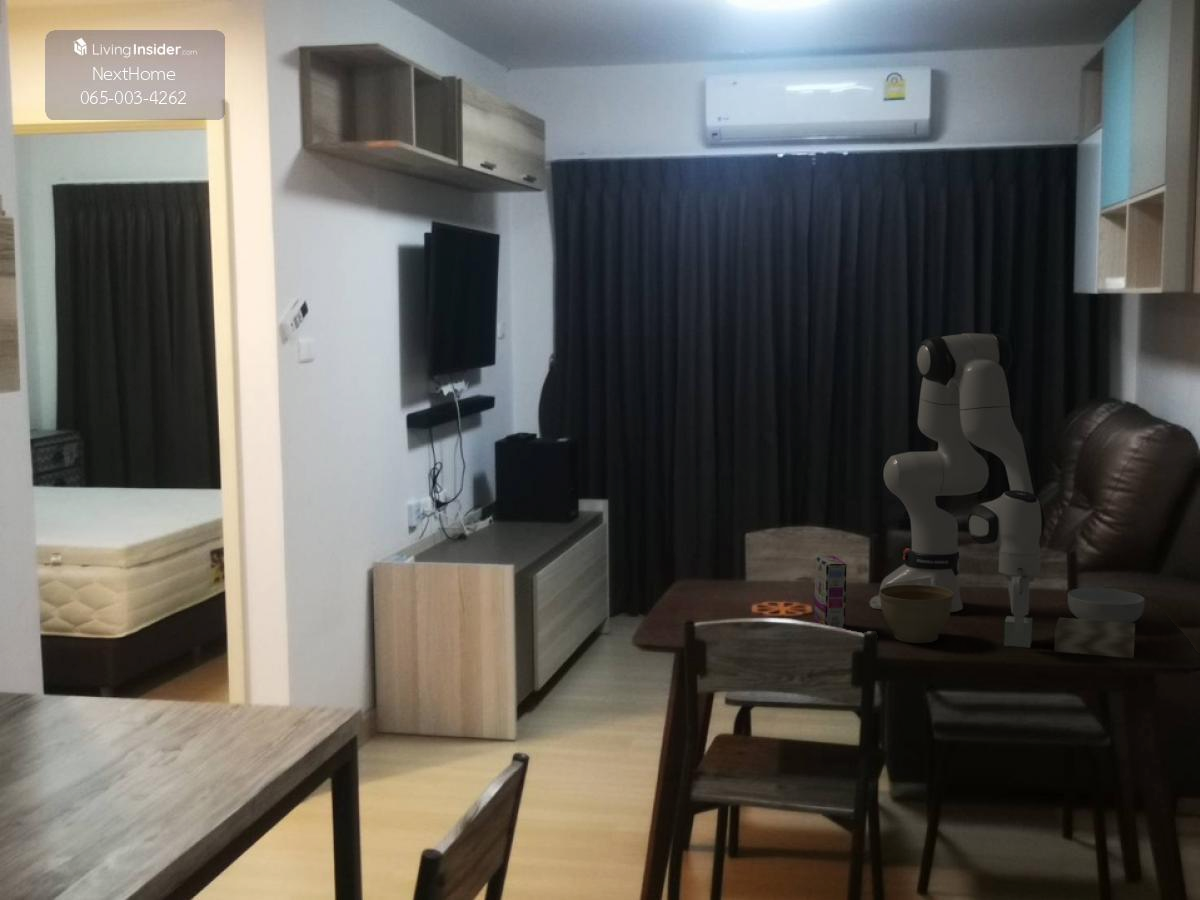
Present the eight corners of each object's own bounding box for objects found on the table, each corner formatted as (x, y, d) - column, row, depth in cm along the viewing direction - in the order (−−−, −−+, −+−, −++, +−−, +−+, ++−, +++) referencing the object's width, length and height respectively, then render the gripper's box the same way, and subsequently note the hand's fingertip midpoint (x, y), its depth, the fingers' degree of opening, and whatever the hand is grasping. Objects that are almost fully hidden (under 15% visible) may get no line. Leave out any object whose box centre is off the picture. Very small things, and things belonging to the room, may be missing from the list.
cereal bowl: (1079, 633, 307) (1079, 602, 306) (1057, 616, 323) (1058, 587, 322) (1154, 633, 306) (1155, 603, 305) (1129, 616, 322) (1130, 587, 322)
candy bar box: (846, 634, 307) (847, 563, 305) (825, 635, 307) (825, 564, 305) (834, 622, 318) (834, 554, 316) (813, 623, 318) (814, 555, 316)
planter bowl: (885, 627, 313) (885, 582, 312) (956, 633, 307) (957, 586, 306) (873, 644, 298) (873, 596, 297) (947, 650, 292) (948, 601, 291)
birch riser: (1054, 653, 291) (1054, 630, 290) (1058, 639, 303) (1058, 617, 302) (1133, 660, 285) (1134, 637, 284) (1134, 645, 297) (1135, 623, 296)
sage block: (1004, 645, 296) (1004, 621, 295) (1006, 640, 301) (1006, 616, 301) (1030, 648, 294) (1030, 623, 294) (1031, 642, 299) (1032, 618, 299)
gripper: (1036, 574, 285) (1035, 638, 286) (1032, 557, 304) (1031, 617, 305) (1005, 572, 286) (1004, 636, 288) (1003, 556, 306) (1002, 616, 307)
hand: (1018, 626), depth 297 cm, fingers open, 8 cm apart
